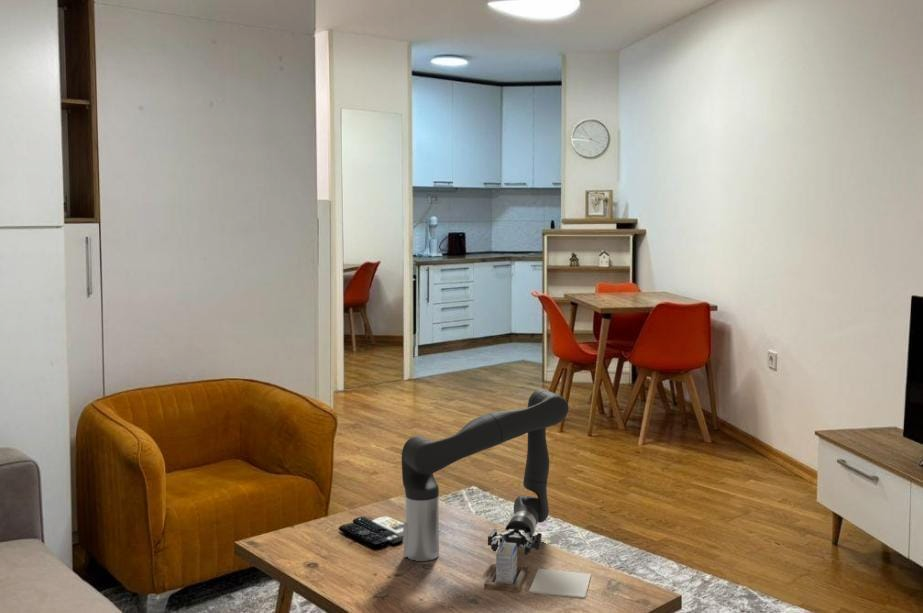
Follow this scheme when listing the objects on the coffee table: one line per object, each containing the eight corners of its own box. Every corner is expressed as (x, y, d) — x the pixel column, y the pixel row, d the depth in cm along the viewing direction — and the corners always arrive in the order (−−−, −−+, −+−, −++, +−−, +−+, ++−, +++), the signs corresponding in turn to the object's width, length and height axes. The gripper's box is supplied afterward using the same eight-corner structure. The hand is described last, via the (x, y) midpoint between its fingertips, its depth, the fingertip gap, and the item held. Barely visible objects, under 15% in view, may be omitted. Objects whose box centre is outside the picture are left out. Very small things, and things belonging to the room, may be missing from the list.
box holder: (484, 588, 221) (484, 583, 221) (495, 568, 233) (495, 563, 233) (519, 592, 219) (519, 587, 218) (528, 571, 231) (528, 567, 231)
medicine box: (513, 587, 222) (513, 554, 221) (495, 585, 222) (495, 553, 222) (517, 574, 229) (517, 542, 228) (500, 573, 230) (500, 541, 229)
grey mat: (529, 592, 218) (529, 590, 218) (538, 570, 232) (538, 568, 232) (584, 598, 215) (585, 596, 215) (591, 575, 228) (591, 574, 228)
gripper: (496, 513, 246) (483, 533, 230) (546, 517, 242) (536, 538, 227) (496, 538, 247) (483, 560, 231) (546, 543, 243) (536, 565, 228)
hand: (509, 549), depth 229 cm, fingers open, 8 cm apart
